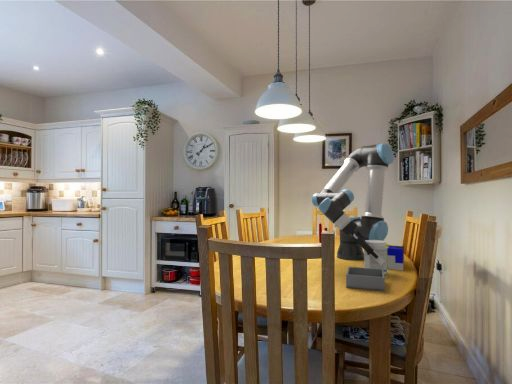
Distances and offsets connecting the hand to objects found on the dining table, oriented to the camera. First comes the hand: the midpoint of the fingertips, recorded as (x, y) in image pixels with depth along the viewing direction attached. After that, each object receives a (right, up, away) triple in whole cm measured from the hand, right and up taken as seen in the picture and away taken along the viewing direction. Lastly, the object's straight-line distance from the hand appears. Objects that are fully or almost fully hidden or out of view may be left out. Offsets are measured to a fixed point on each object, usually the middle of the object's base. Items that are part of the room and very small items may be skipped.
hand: (382, 260), depth 137 cm
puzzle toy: (+10, -6, +13) cm, 18 cm away
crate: (-14, -6, -16) cm, 22 cm away
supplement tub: (-3, -6, +1) cm, 7 cm away
